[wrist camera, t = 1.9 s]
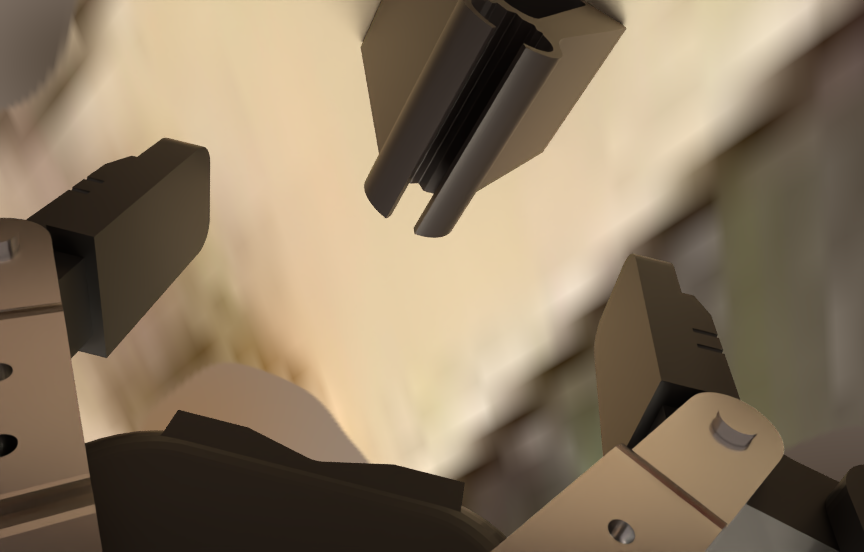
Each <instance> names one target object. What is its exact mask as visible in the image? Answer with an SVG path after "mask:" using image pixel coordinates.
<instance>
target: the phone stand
mask: <svg viewBox="0 0 864 552" xmlns="http://www.w3.org/2000/svg"><path fill="white" fill-rule="evenodd" d="M625 30H626V27H625V26H623V25H622V24H621V23H619V22H618V21H616V20H614V19H613V18H611V17H610V16H608V15H606V14H605V13H603V12H602V11H600V10H598V9H597V8H595V7H593V6H592V5H590V4H589V3H587V2H585V1H584V0H382V1H381V3H380V6H379V8H378V10H377V12H376V15H375V17H374V19H373V21H372V23H371V26H370V28H369V30H368V32H367V35H366V37H365V39H364V41H363V43H362V46H361V52H362V58H363V63H364V69H365V75H366V81H367V87H368V92H369V98H370V104H371V110H372V116H373V122H374V127H375V133H376V139H377V145H378V151H379V156H378V157H377V159H376V161H375V163H374V165H373V167H372V169H371V171H370V173H369V175H368V177H367V179H366V181H365V184H364V189H365V193H366V196H367V198H368V199H369V201H370V202H371V204H372V205H373V206H374V208H375V209H376V210H377V211H378V212H379V213H380V214H381V215H383V216H384V217H385V218H388V217H389V216H391V214H392V213H393V211H394V209H395V207H396V205H397V204H398V202H399V200H400V198H401V196H402V195H403V193H404V191H405V189H406V188H407V186H408V184H409V183H419V184H420V186H421V187H422V189H423V191H426V192H430V193H434V195H433V196H432V198H431V200H430V201H429V203H428V205H427V206H426V208H425V210H424V211H423V213H422V215H421V216H420V218H419V220H418V222H417V223H416V225H415V227H414V233H415V234H417V235H420V236H425V237H433V238H436V237H443V236H445V235H447V234H449V233H450V232H451V231H452V229H453V227H454V226H455V224H456V223H457V221H458V220H459V218H460V216H461V215H462V213H463V212H464V210H465V209H466V207H467V205H468V204H469V202H470V201H471V199H472V198H473V196H474V194H475V193H476V192H477V191H479V190H480V189H482V188H484V187H485V186H487V185H489V184H490V183H492V182H494V181H495V180H497V179H499V178H500V177H502V176H504V175H505V174H507V173H509V172H510V171H512V170H514V169H515V168H517V167H519V166H520V165H522V164H524V163H525V162H527V161H529V160H530V159H532V158H534V157H535V156H537V155H539V154H540V153H542V152H543V151H544V149H545V148H546V146H547V145H548V143H549V142H550V141H551V139H552V138H553V136H554V135H555V133H556V132H557V130H558V129H559V127H560V126H561V124H562V123H563V121H564V120H565V118H566V117H567V115H568V114H569V112H570V111H571V109H572V108H573V107H574V105H575V104H576V102H577V101H578V99H579V98H580V96H581V95H582V93H583V92H584V90H585V89H586V87H587V86H588V84H589V83H590V81H591V80H592V78H593V77H594V75H595V74H596V73H597V71H598V70H599V68H600V67H601V65H602V64H603V62H604V61H605V59H606V58H607V56H608V55H609V53H610V52H611V50H612V49H613V47H614V46H615V44H616V43H617V42H618V40H619V39H620V37H621V36H622V34H623V33H624V31H625Z"/></svg>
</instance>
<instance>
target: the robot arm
mask: <svg viewBox="0 0 864 552" xmlns="http://www.w3.org/2000/svg"><path fill="white" fill-rule="evenodd" d="M209 221H210V156H209V152H208V150H207V149H206V148H205V147H202V146H198V145H194V144H190V143H186V142H182V141H178V140H174V139H170V138H163V139H161V140H160V141H158V142H157V143H156V144H154V145H153V146H152V147H150V148H149V149H147V150H146V151H145V152H143V153H142V154H141V155H139V156H138V157H135V156H129V157H126V158H123V159H120V160H117V161H114V162H110V163H107V164H105V165H103V166H102V167H100V168H99V169H98V170H96V171H95V172H93V173H92V174H90V175H89V176H88V177H87V180H85V179H83V180H82V181H81V182H79V183H78V184H76V185H75V186H73V189H72V190H68V191H66V192H65V193H63V194H62V195H61V196H59V197H58V198H56V199H55V200H54V201H52V202H51V203H49V204H48V205H46V206H45V207H44V208H42V209H41V210H39V211H38V212H36V213H35V214H34V215H32V216H31V217H29V218H28V219H27V220H23V219H16V218H0V552H864V465H858V466H855V467H853V468H851V469H850V470H849V471H848V472H847V474H846V475H845V476H844V477H843V479H842V480H841V481H840V482H838V481H836V480H833V479H832V478H829V477H827V476H825V475H823V474H821V473H819V472H817V471H815V470H813V469H811V468H809V467H806V466H804V465H802V464H800V463H798V462H796V461H794V460H793V459H790V458H789V457H787V456H786V455H784V444H783V441H782V438H781V436H780V434H779V432H778V431H777V429H776V428H775V427H774V425H773V424H772V423H771V422H770V421H769V420H768V419H767V418H766V417H765V416H764V415H762V414H761V413H760V412H759V411H757V410H756V409H755V408H753V407H752V406H750V405H748V404H747V403H745V402H743V401H741V400H740V398H739V395H738V392H737V389H736V386H735V383H734V380H733V377H732V375H731V372H730V369H729V366H728V363H727V360H726V357H725V354H722V351H723V349H722V346H721V343H720V340H719V338H717V331H716V328H715V325H714V323H713V320H712V317H711V315H710V314H709V312H708V311H707V310H706V309H705V308H704V307H703V306H702V304H701V303H700V302H699V301H698V300H697V299H696V298H695V296H693V295H689V294H685V293H682V292H681V289H680V285H679V282H678V279H677V275H676V272H675V269H674V266H673V264H672V263H669V262H665V261H661V260H657V259H653V258H649V257H645V256H641V255H637V254H630V255H629V256H628V258H627V259H626V261H625V263H624V265H623V267H622V269H621V272H620V274H619V277H618V279H617V281H616V284H615V286H614V288H613V291H612V293H611V295H610V298H609V300H608V302H607V305H606V307H605V309H604V312H603V314H602V317H601V319H600V322H599V325H598V328H597V332H596V337H595V343H594V357H595V369H596V380H597V392H598V403H599V415H600V426H601V438H602V449H603V457H602V458H601V459H600V460H599V461H598V462H596V463H595V464H594V465H593V466H592V467H590V468H589V469H588V470H587V471H586V472H585V473H583V474H582V475H581V476H580V477H579V478H577V479H576V480H575V481H574V482H573V483H571V484H570V485H569V486H568V487H567V488H566V489H564V490H563V491H562V492H561V493H560V494H558V495H557V496H556V497H555V498H554V499H552V500H551V501H550V502H549V503H548V504H547V505H545V506H544V507H543V508H542V509H541V510H539V511H538V512H537V513H536V514H535V515H534V516H532V517H531V518H530V519H529V520H528V521H526V522H525V523H524V524H523V525H522V526H520V527H519V528H518V529H517V530H516V531H515V532H513V533H512V534H511V535H510V536H509V537H506V536H505V535H504V534H503V533H502V532H501V531H499V530H498V529H497V528H496V527H494V526H493V525H492V524H491V523H489V522H488V521H487V520H485V519H484V518H482V517H480V516H479V515H477V514H476V513H474V512H473V511H471V510H469V509H467V508H465V507H463V506H462V498H463V491H464V484H465V483H464V482H460V481H456V480H452V479H449V478H445V477H441V476H437V475H433V474H429V473H425V472H421V471H417V470H413V469H409V468H405V467H401V466H397V465H391V464H366V463H340V462H321V461H315V460H312V459H309V458H307V457H305V456H303V455H301V454H299V453H297V452H295V451H293V450H291V449H289V448H287V447H285V446H283V445H282V444H280V443H277V442H275V441H273V440H272V439H270V438H268V437H266V436H264V435H262V434H260V433H258V432H256V431H254V430H252V429H250V428H248V427H244V426H240V425H236V424H232V423H228V422H224V421H220V420H216V419H212V418H209V417H205V416H200V415H197V414H193V413H189V412H185V411H181V410H178V411H177V413H176V414H175V415H174V417H173V419H172V420H171V421H170V423H169V424H168V426H167V427H166V429H165V430H164V431H138V432H130V433H123V434H117V435H113V436H109V437H105V438H100V439H97V440H94V441H91V442H88V443H84V436H83V430H82V424H81V418H80V411H79V405H78V399H77V393H76V386H75V380H74V374H73V368H72V361H71V358H72V357H73V356H74V355H75V354H76V353H77V352H78V351H81V352H85V353H89V354H93V355H97V356H101V357H105V358H107V357H108V356H109V355H110V354H111V352H112V351H113V350H114V349H115V348H116V347H117V346H118V344H119V343H120V342H121V341H122V340H123V339H124V338H125V336H126V335H127V334H128V333H129V332H130V331H131V330H132V328H133V327H134V326H135V325H136V324H137V323H138V322H139V320H140V319H141V318H142V317H143V316H144V315H145V314H146V312H147V311H148V310H149V309H150V308H151V307H152V306H153V304H154V303H155V302H156V301H157V300H158V299H159V298H160V296H161V295H162V294H163V293H164V292H165V291H166V290H167V288H168V287H169V286H170V285H171V284H172V283H173V282H174V280H175V279H176V278H177V277H178V276H179V275H180V274H181V272H182V271H183V270H184V269H185V268H186V267H187V266H188V264H189V263H190V262H191V261H192V260H193V259H194V258H195V256H196V255H197V254H198V253H199V252H200V250H201V249H202V247H203V245H204V243H205V240H206V237H207V234H208V229H209Z"/></svg>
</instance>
